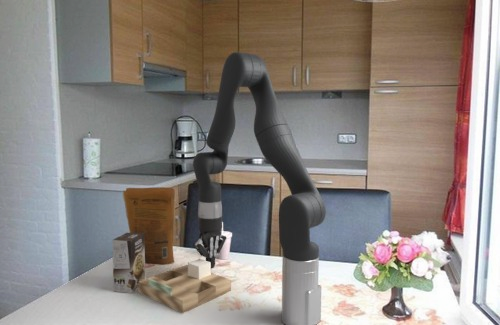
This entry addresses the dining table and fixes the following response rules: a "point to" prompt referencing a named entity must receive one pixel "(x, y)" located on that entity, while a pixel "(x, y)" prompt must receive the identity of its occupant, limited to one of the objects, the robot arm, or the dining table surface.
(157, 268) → the dining table surface
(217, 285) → the trap deck
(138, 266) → the coffee box
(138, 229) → the pancake mix bag
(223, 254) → the smoothie
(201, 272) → the block
